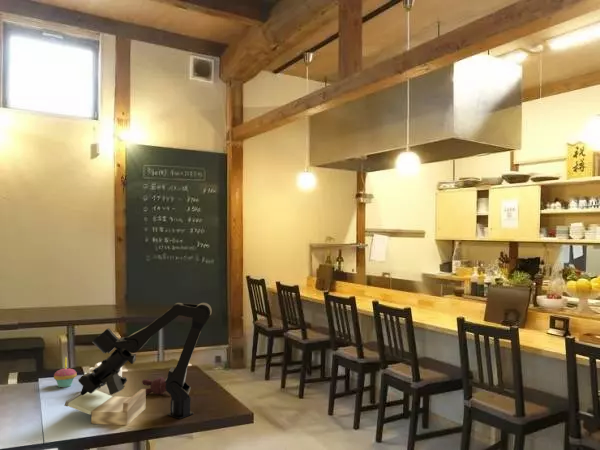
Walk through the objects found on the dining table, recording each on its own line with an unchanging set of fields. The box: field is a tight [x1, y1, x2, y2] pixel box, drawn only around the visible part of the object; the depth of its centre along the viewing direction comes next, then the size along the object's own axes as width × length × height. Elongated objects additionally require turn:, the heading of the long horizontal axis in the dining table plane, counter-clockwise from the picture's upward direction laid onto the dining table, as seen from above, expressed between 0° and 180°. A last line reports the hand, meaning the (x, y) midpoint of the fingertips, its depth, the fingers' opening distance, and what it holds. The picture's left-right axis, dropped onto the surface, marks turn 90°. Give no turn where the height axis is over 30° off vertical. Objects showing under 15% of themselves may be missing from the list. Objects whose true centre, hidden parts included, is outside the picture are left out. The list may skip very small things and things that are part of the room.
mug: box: [86, 361, 123, 395], centre depth 200 cm, size 14×10×11 cm
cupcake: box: [53, 356, 77, 388], centre depth 206 cm, size 9×8×12 cm
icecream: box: [141, 376, 167, 396], centre depth 197 cm, size 7×7×15 cm
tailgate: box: [63, 390, 113, 416], centre depth 173 cm, size 2×16×9 cm
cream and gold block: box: [90, 388, 147, 426], centre depth 172 cm, size 12×16×7 cm
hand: (81, 394), depth 173 cm, fingers closed
